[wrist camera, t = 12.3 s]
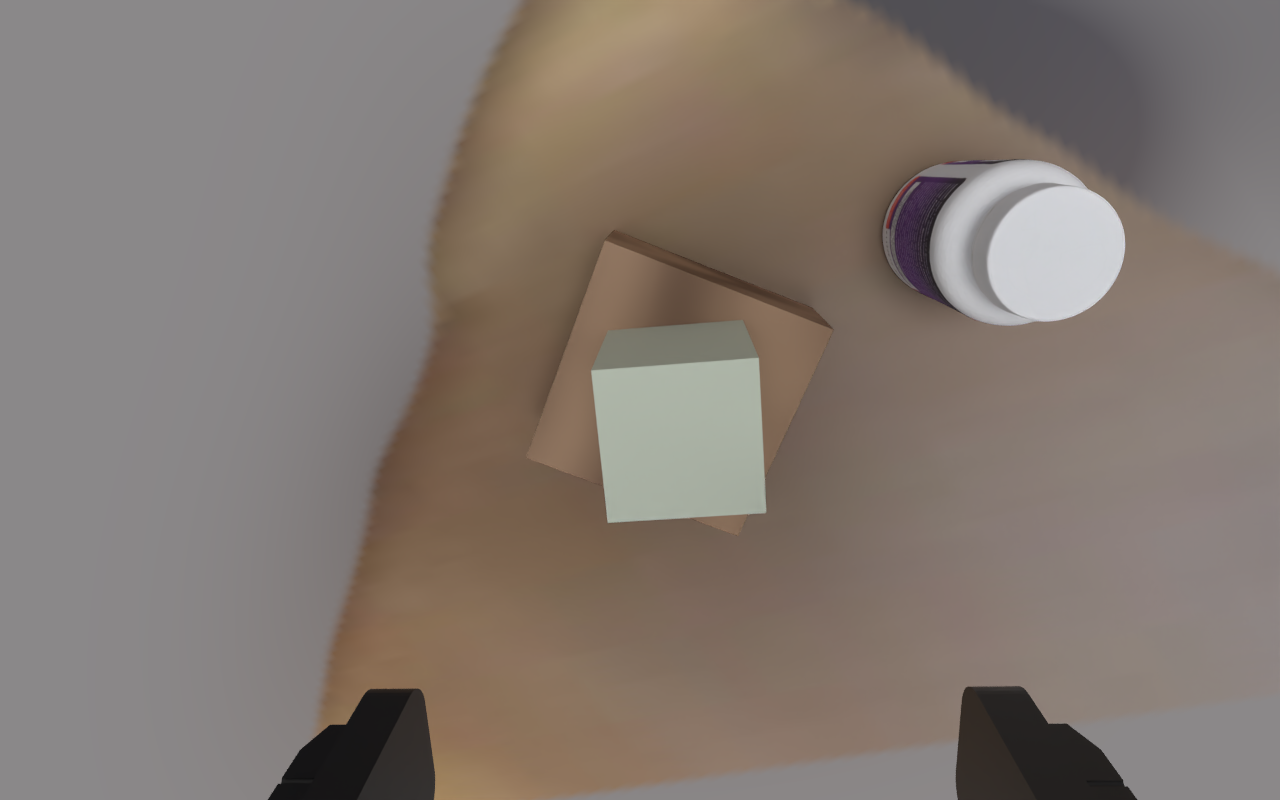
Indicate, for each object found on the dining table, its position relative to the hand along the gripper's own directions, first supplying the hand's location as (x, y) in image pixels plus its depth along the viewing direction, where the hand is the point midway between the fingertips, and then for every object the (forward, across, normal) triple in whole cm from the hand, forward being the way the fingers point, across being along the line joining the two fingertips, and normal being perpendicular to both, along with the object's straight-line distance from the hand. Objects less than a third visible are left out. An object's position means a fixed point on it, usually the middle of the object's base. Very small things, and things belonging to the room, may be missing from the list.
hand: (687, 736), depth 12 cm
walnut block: (+24, 0, 0) cm, 24 cm away
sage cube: (+19, 0, 0) cm, 19 cm away
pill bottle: (+24, -11, -5) cm, 27 cm away
